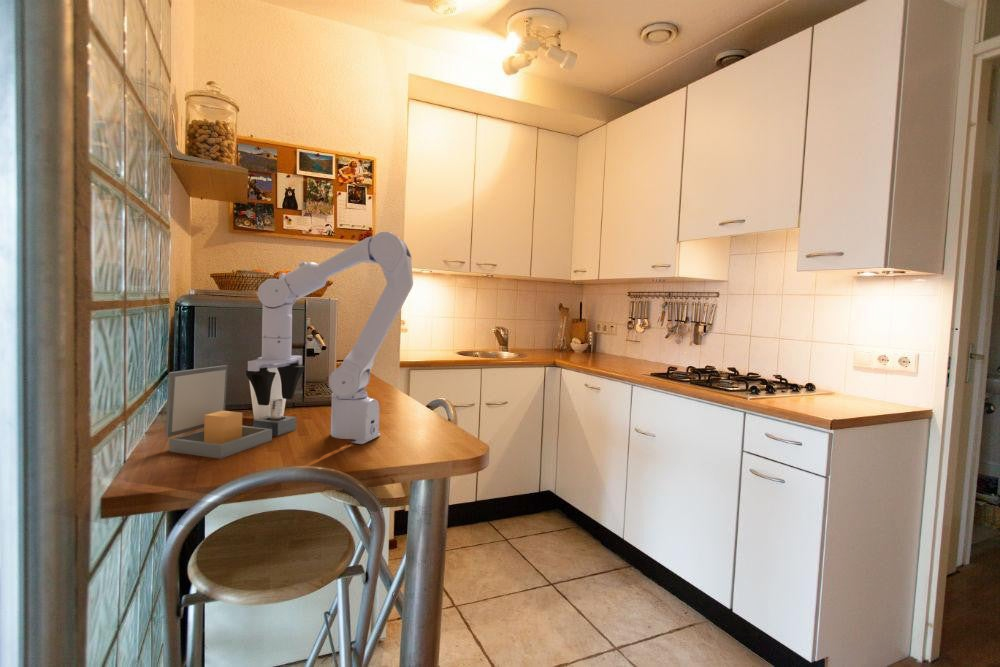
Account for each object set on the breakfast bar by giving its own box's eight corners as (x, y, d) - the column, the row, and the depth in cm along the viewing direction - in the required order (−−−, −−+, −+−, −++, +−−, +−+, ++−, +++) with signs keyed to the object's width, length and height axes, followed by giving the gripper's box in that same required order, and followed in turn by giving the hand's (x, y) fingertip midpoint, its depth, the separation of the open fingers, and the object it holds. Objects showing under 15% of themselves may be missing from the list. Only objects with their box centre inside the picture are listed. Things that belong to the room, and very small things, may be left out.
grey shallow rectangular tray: (271, 444, 99) (272, 429, 99) (220, 462, 87) (221, 445, 87) (225, 438, 102) (225, 423, 102) (169, 455, 89) (169, 439, 89)
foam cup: (240, 417, 120) (241, 363, 119) (278, 412, 127) (279, 361, 126) (257, 425, 114) (258, 368, 113) (297, 419, 121) (298, 365, 120)
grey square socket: (296, 433, 108) (296, 417, 108) (277, 439, 103) (278, 422, 102) (272, 430, 110) (272, 414, 110) (252, 436, 104) (252, 420, 104)
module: (241, 443, 96) (242, 412, 96) (223, 449, 92) (224, 417, 91) (222, 441, 97) (223, 410, 97) (204, 447, 93) (204, 415, 92)
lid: (228, 365, 101) (225, 365, 101) (172, 373, 89) (168, 372, 89) (225, 422, 102) (221, 421, 102) (168, 437, 89) (165, 436, 89)
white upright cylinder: (283, 432, 107) (284, 399, 106) (274, 434, 105) (275, 401, 104) (275, 430, 108) (276, 398, 107) (266, 433, 106) (267, 400, 105)
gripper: (283, 335, 113) (282, 394, 114) (234, 338, 99) (234, 406, 100) (310, 336, 111) (309, 397, 112) (265, 339, 97) (264, 409, 98)
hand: (276, 401), depth 106 cm, fingers open, 7 cm apart
